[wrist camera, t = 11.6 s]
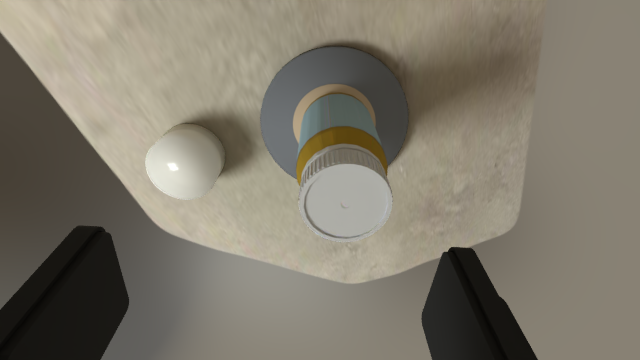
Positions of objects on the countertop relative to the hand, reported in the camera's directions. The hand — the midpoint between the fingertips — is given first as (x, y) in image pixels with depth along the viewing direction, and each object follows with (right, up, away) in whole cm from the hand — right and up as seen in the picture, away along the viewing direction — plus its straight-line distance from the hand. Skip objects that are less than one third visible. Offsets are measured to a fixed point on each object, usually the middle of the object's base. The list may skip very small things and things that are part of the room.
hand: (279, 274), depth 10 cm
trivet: (+3, +9, +27) cm, 29 cm away
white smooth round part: (-13, +6, +29) cm, 32 cm away
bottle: (+3, +8, +26) cm, 28 cm away
